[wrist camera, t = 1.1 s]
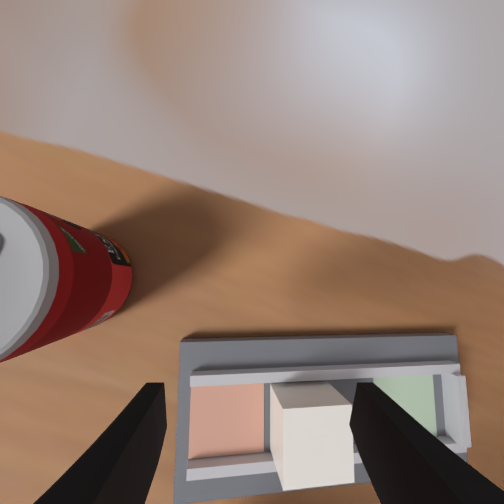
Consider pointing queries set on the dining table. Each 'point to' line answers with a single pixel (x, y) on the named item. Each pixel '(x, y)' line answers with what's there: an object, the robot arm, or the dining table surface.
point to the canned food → (54, 278)
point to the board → (300, 370)
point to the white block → (310, 435)
